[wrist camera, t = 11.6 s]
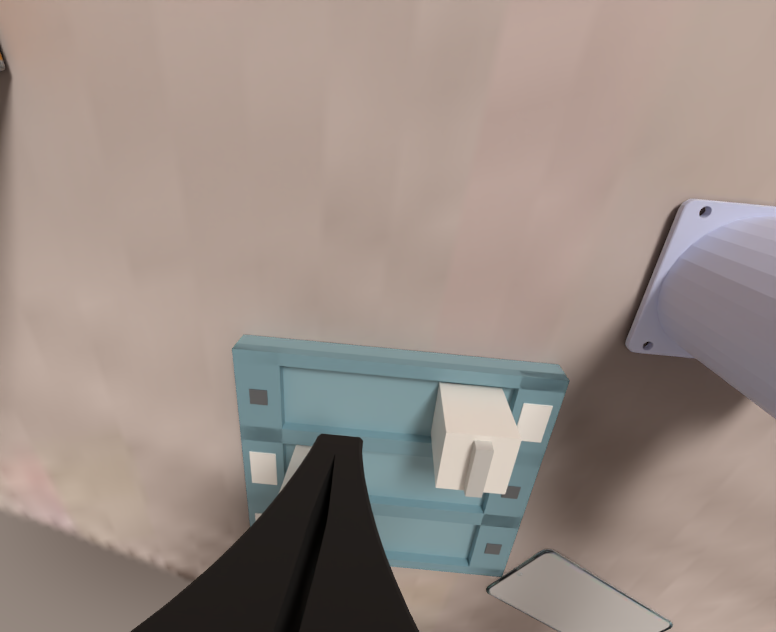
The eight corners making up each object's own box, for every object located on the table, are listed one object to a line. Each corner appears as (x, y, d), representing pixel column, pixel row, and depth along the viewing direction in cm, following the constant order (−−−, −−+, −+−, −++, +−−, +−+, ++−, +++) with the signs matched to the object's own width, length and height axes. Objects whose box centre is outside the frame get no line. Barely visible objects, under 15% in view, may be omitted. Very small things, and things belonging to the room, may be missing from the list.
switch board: (558, 364, 22) (570, 381, 20) (497, 555, 29) (502, 578, 27) (243, 334, 22) (231, 349, 20) (260, 532, 29) (252, 553, 27)
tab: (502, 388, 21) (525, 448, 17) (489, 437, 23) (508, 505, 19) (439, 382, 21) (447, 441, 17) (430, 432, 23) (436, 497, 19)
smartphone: (608, 658, 34) (483, 591, 31) (605, 651, 35) (482, 584, 31) (676, 626, 32) (548, 549, 28) (672, 618, 32) (546, 542, 29)
